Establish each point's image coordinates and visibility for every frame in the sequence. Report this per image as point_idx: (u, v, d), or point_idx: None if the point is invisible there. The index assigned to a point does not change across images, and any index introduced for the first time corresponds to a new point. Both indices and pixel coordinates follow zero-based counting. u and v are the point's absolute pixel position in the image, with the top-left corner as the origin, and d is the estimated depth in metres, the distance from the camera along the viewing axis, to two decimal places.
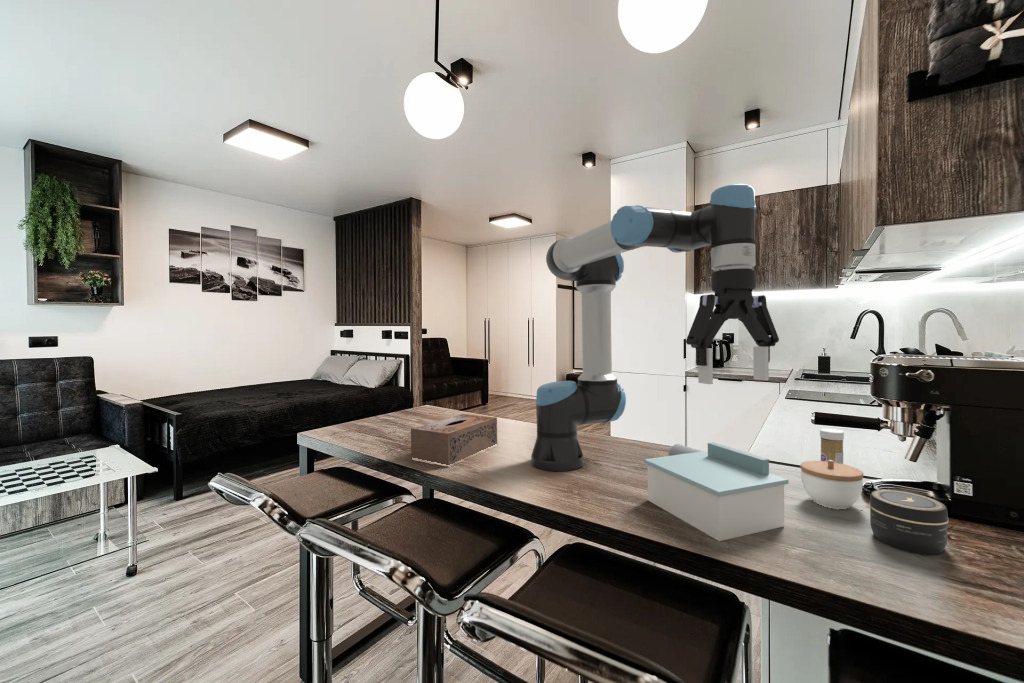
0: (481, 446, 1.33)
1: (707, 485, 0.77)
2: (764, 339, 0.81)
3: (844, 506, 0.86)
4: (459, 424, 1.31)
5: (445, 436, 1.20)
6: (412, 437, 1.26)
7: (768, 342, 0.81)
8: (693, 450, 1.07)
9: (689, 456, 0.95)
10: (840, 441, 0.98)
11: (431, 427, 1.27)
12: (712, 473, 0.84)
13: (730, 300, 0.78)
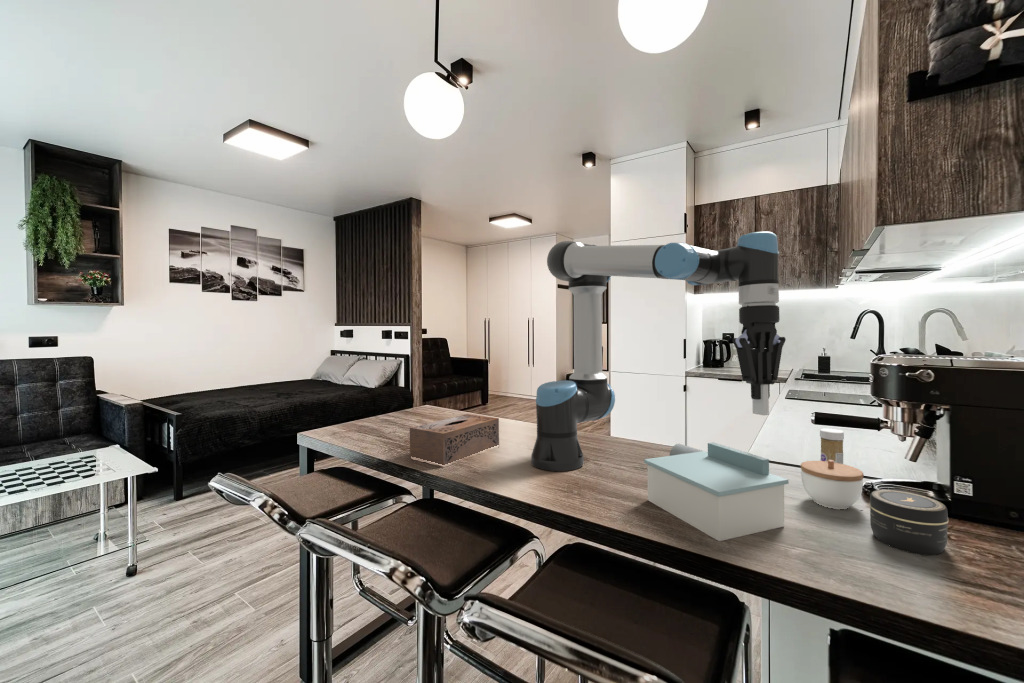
0: (481, 447, 1.32)
1: (707, 485, 0.77)
2: (767, 374, 0.90)
3: (844, 506, 0.86)
4: (458, 424, 1.31)
5: (441, 436, 1.20)
6: (411, 436, 1.27)
7: (768, 379, 0.90)
8: (694, 450, 1.07)
9: (689, 456, 0.95)
10: (840, 441, 0.98)
11: (429, 427, 1.28)
12: (712, 473, 0.84)
13: (756, 335, 0.89)
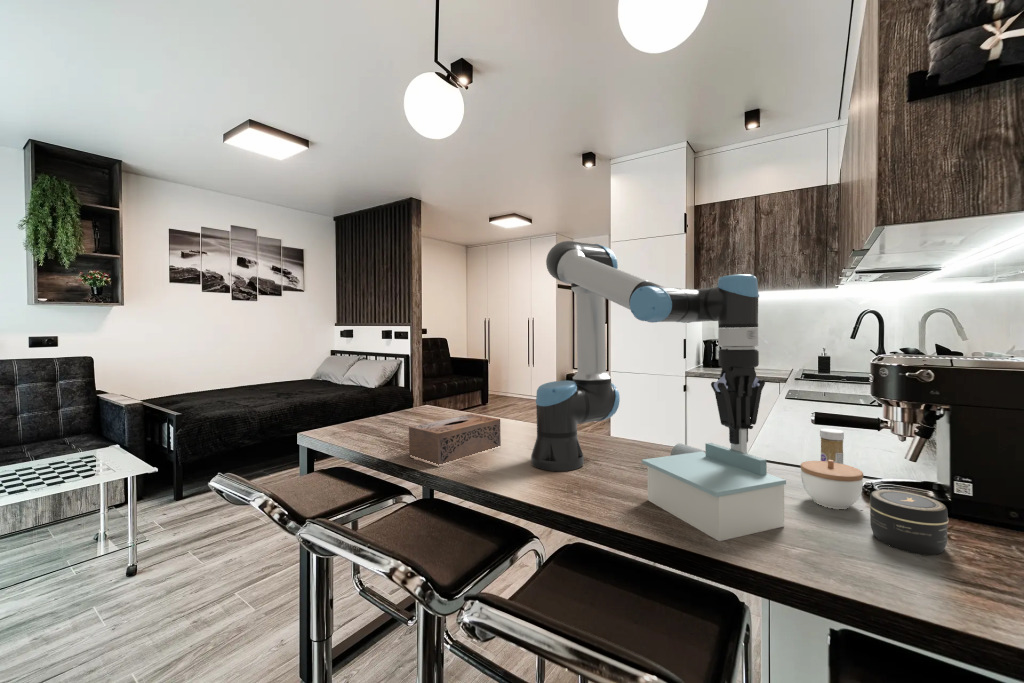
0: (480, 447, 1.32)
1: (704, 485, 0.77)
2: (745, 419, 0.88)
3: (844, 506, 0.86)
4: (457, 424, 1.31)
5: (436, 436, 1.20)
6: (410, 435, 1.29)
7: (747, 424, 0.88)
8: (695, 449, 1.08)
9: (686, 457, 0.95)
10: (840, 441, 0.98)
11: (428, 426, 1.29)
12: (709, 473, 0.83)
13: (735, 379, 0.87)
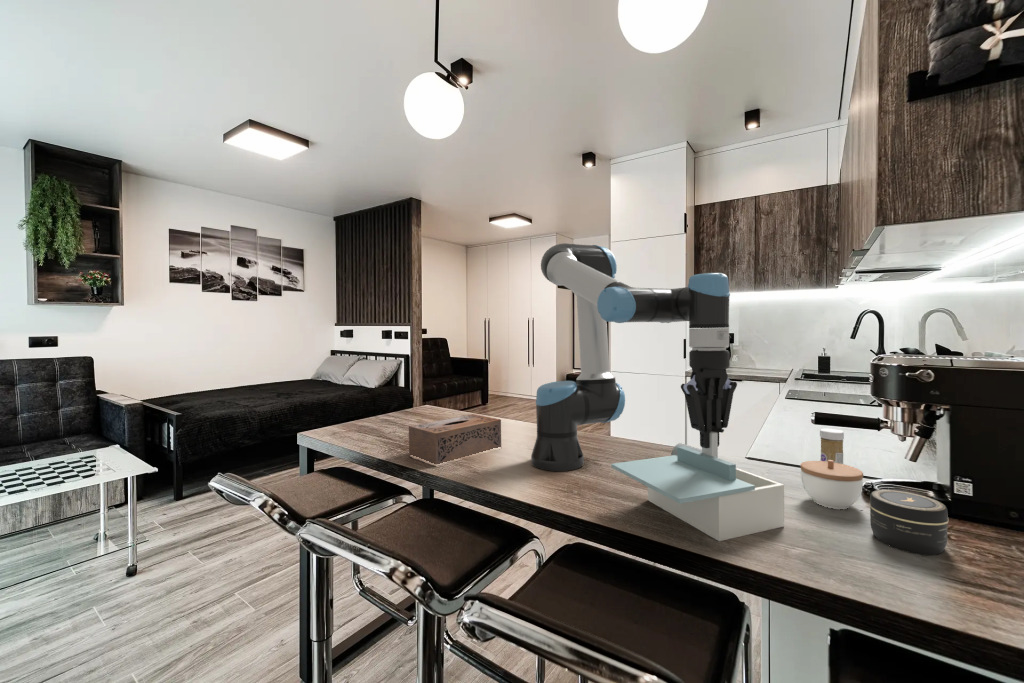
0: (479, 448, 1.31)
1: (669, 491, 0.74)
2: (716, 422, 0.86)
3: (844, 506, 0.86)
4: (457, 424, 1.31)
5: (434, 436, 1.20)
6: (409, 434, 1.29)
7: (718, 427, 0.86)
8: (696, 449, 1.08)
9: (658, 461, 0.92)
10: (840, 441, 0.98)
11: (428, 426, 1.29)
12: (677, 479, 0.81)
13: (705, 381, 0.85)
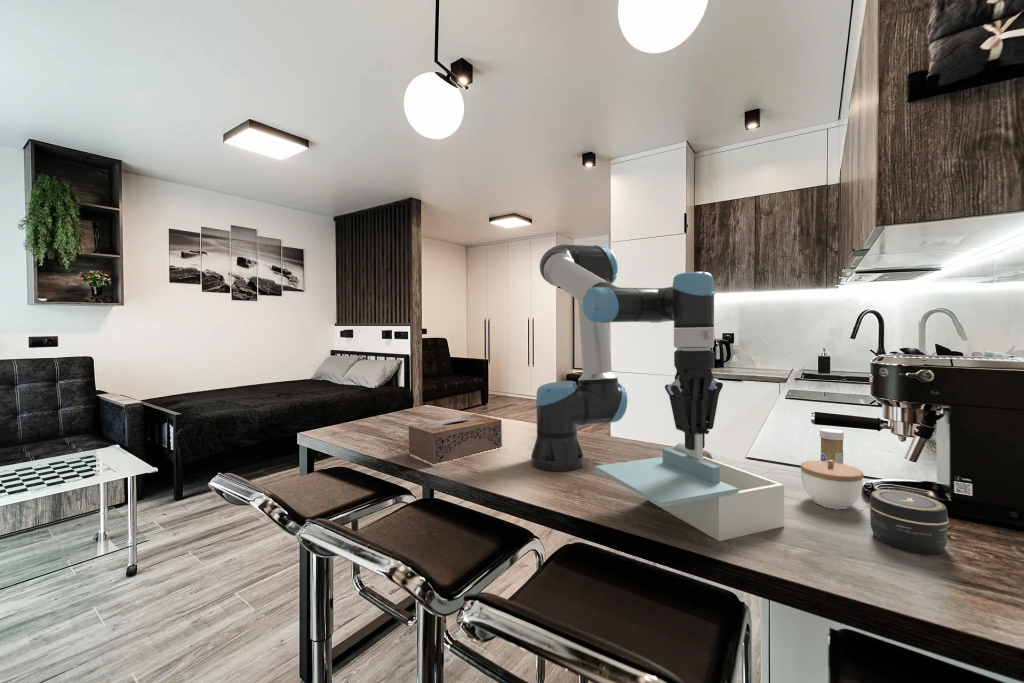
0: (479, 448, 1.31)
1: (651, 494, 0.73)
2: (701, 423, 0.84)
3: (844, 506, 0.86)
4: (456, 424, 1.31)
5: (431, 436, 1.21)
6: (409, 434, 1.30)
7: (703, 428, 0.84)
8: None
9: (643, 463, 0.91)
10: (840, 441, 0.98)
11: (427, 425, 1.30)
12: (661, 481, 0.79)
13: (690, 382, 0.83)
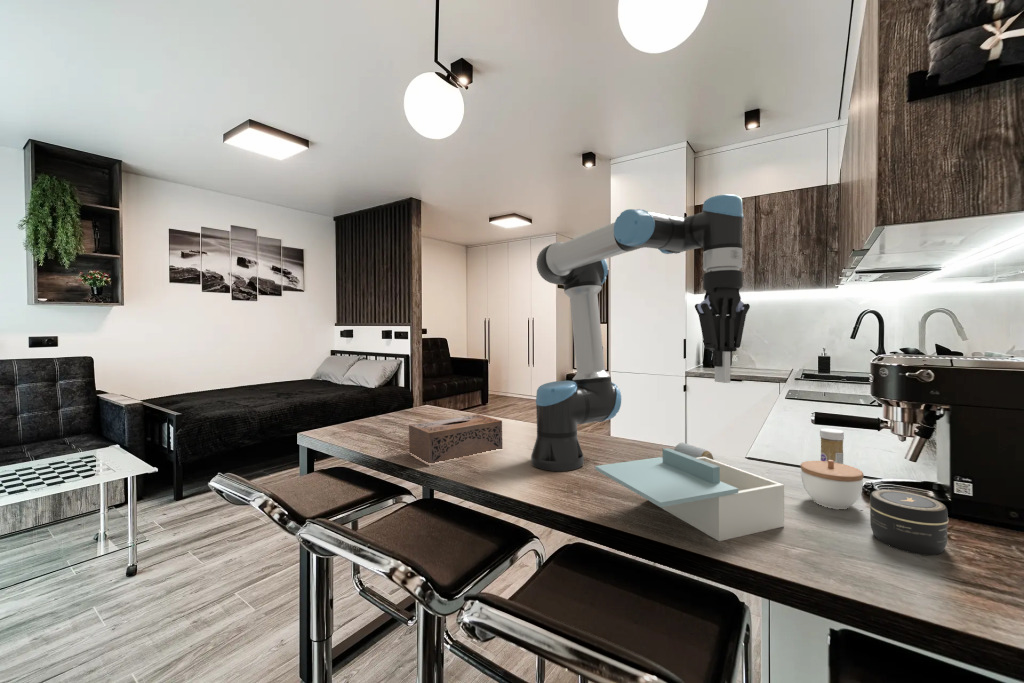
0: (477, 449, 1.30)
1: (651, 494, 0.73)
2: (729, 341, 0.88)
3: (844, 506, 0.86)
4: (455, 424, 1.31)
5: (427, 435, 1.21)
6: (409, 433, 1.31)
7: (731, 346, 0.88)
8: (697, 449, 1.08)
9: (643, 463, 0.91)
10: (840, 441, 0.98)
11: (426, 425, 1.30)
12: (660, 481, 0.79)
13: (719, 300, 0.87)
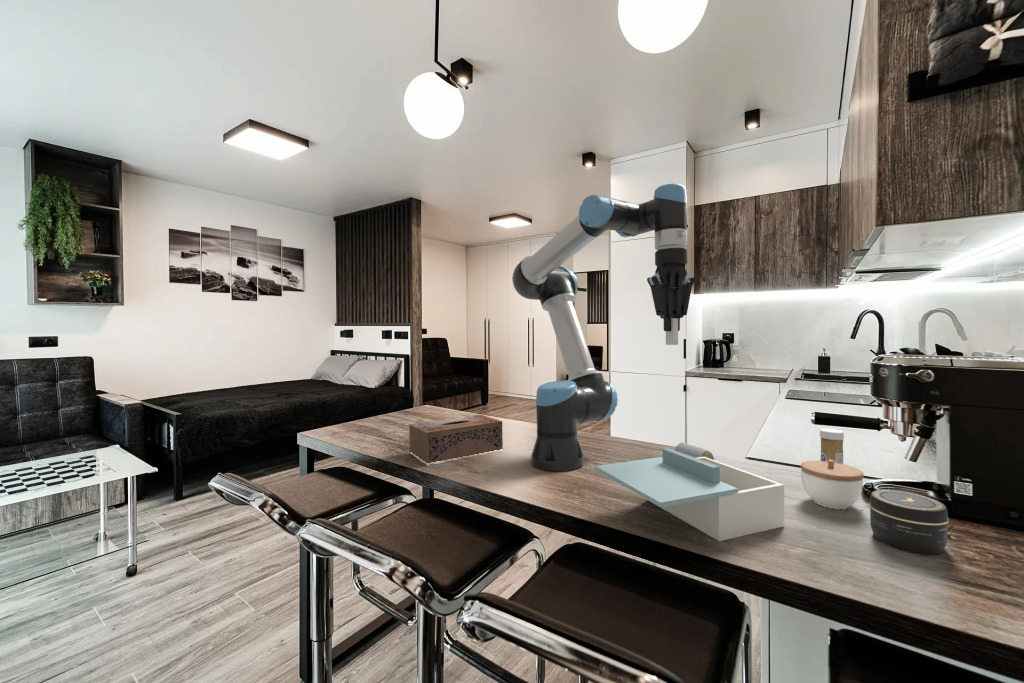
0: (477, 449, 1.30)
1: (651, 494, 0.73)
2: (677, 309, 1.03)
3: (844, 506, 0.86)
4: (454, 424, 1.31)
5: (425, 435, 1.22)
6: (410, 432, 1.32)
7: (678, 314, 1.03)
8: (698, 448, 1.08)
9: (643, 463, 0.91)
10: (840, 441, 0.98)
11: (426, 425, 1.31)
12: (660, 481, 0.79)
13: (667, 274, 1.02)
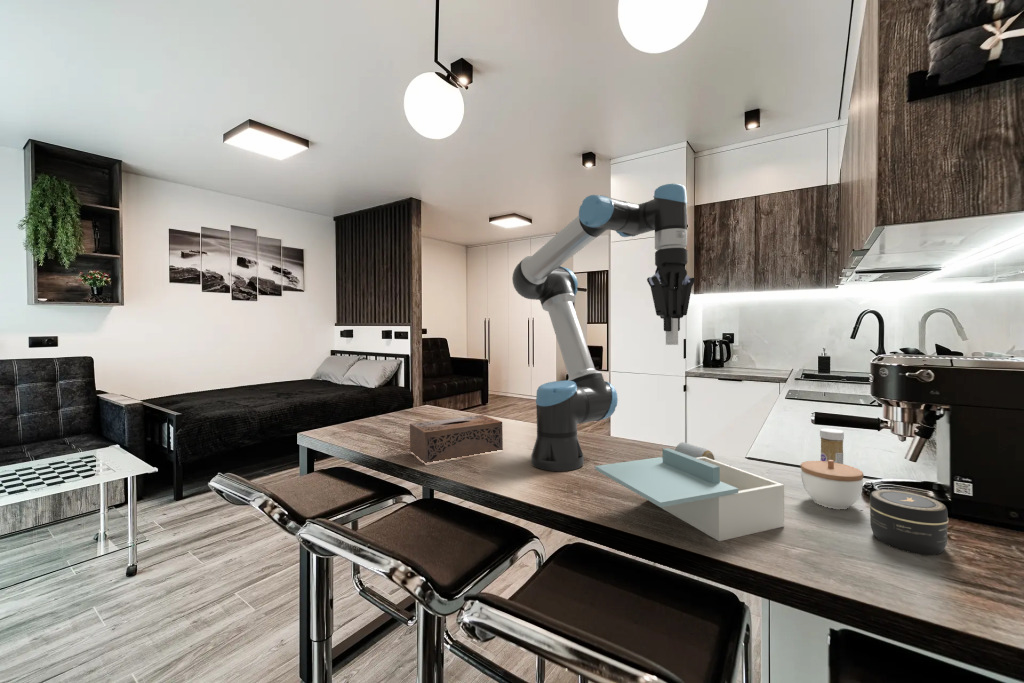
0: (476, 449, 1.29)
1: (651, 494, 0.73)
2: (677, 309, 1.03)
3: (844, 506, 0.86)
4: (454, 424, 1.31)
5: (424, 435, 1.22)
6: (410, 432, 1.33)
7: (678, 314, 1.03)
8: (698, 448, 1.09)
9: (643, 463, 0.91)
10: (840, 441, 0.98)
11: (426, 424, 1.31)
12: (660, 481, 0.79)
13: (667, 274, 1.02)
